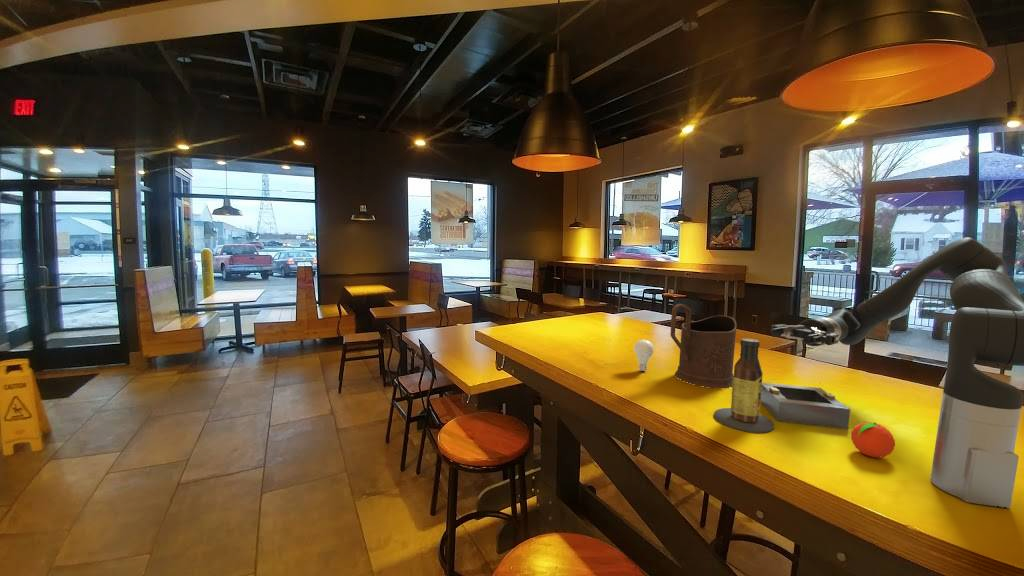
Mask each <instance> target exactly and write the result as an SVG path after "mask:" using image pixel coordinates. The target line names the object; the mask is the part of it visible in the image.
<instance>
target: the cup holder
mask: <svg viewBox="0 0 1024 576" xmlns="http://www.w3.org/2000/svg"><path fill="white" fill-rule="evenodd" d="M681 307H682V308H684V309H685V313H686V314H685V322H683V323H682V324H681V333H680V334H681V335H680V341H679V339H678V337H676V327H677V312H678V309H679V308H681ZM670 316H671V319H670V320H671V321H670V338H671V339H672V340H673V341H674V343H675V344H676V346H677V347H678V349H679V359H678V360H679V361H678V367H677V370H676V371H675V373H674V374H675V376H676V377H677V378H679V379H681V380H682V381H685V382H688V383H691V384H695V385H698V386H697V387H700V386H704V387H703V388H705V387H711V388H710V389H715V388H724V389H730V388H729V387H731V388H732V386H733V376H734V360H735V346H736V335H737V326H738V325H737V320H736V319H735V318H733V317H731V316H727V315H714V316H710V317H706V318H704V319H700V320H697V321H696V320H695V321H691V319H692V318H691V317H692V309H691V308H690V307H689V306H688V305H687V304H682V303H676V304H675V305H674V306H672V309H671V315H670ZM675 376H674V377H675ZM676 377H675V378H676ZM677 378H676V379H677ZM682 381H681V382H682ZM685 382H684V383H685ZM688 383H687V384H688ZM691 384H690V385H691ZM695 385H694V386H695Z"/></svg>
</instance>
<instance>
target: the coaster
mask: <svg viewBox="0 0 1024 576" xmlns="http://www.w3.org/2000/svg"><path fill="white" fill-rule="evenodd" d="M731 412H732V411H731V407H726V408H725V407H722V408H719V409H716V410H715V411H714V412H713V417H714V419H715V420H716V421H717V422H719V423H720V424H722V425H724V426H725V427H728V428H731V429H733V430H737V431H740V432H746V433H755V434H765V433H770V432H773V431H774V430H775V424H774V422H773V420H771V419H770V418H768V417H767V416H764V415H763V414H760V415H759V418H758V421H757V422H754V423H747V422H742V421H739V420H736V419H734V418H733V417H732V415H731Z"/></svg>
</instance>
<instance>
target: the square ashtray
mask: <svg viewBox="0 0 1024 576" xmlns="http://www.w3.org/2000/svg"><path fill="white" fill-rule="evenodd" d="M760 404H761V405H762V406H764V407H765V409H766V410H767V411H768V412H769V413H770V415H772V417H774V418H775V420H776V421H777V422H780V423H781V422H783V423H790V424H800V425H807V426H808V425H810V426H818V427H825V428H826V427H827V428H834V429H835V428H836V429H843V430H844V429H845V430H849V425H850V424H849V423H850V417H851V408H850V407H848V406H847V405H845V404H844V403H842V402H841V401H839V399H837V398H836V396H835V395H834V394H833V393H831V392H827V391H825V390H824V389H823V388H822V387H815V386H814V387H813V386H803V385H792V384H781V383H773V382H772V383H771V382H762V391H761V403H760Z"/></svg>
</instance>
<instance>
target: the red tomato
mask: <svg viewBox="0 0 1024 576" xmlns="http://www.w3.org/2000/svg"><path fill="white" fill-rule="evenodd" d="M850 435H851V441H852V444H853V445H854V446H855V448H856V449H857V450H858V451H859V452H861V453H862V454H863V455H866V456H869V457H872V458H884V457H887V456H888V455H891V454H892V453H893V451H894V449H895V447H896V441H895V438H894V434H892V432H891V431H890V430H888V429H887V428H886V427H885V426H883V425H882V424H878V423H876V422H872V421H870V422H869V421H866V422H863V423H862V422H861V423H859V424H857V425H855V426H854V428H853V429H852V431H851V434H850Z"/></svg>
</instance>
